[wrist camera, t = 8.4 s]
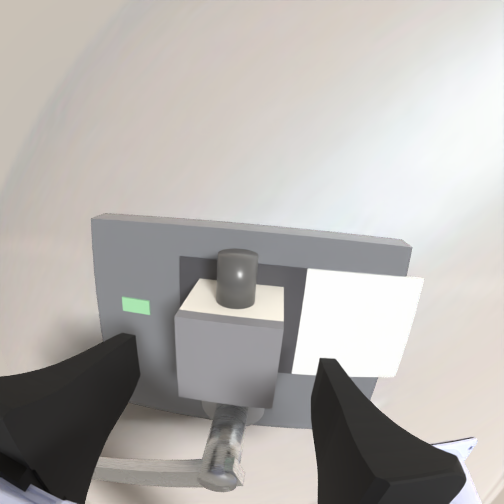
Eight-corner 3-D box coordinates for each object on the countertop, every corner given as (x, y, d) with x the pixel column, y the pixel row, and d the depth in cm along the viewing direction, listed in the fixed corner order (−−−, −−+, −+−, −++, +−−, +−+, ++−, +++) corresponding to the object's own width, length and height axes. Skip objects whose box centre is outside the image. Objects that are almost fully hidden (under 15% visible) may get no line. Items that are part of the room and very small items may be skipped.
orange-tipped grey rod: (243, 392, 16) (229, 469, 11) (254, 417, 17) (244, 491, 12) (68, 407, 19) (32, 454, 14) (82, 426, 19) (50, 474, 14)
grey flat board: (368, 414, 19) (374, 435, 17) (123, 385, 20) (111, 404, 18) (418, 241, 16) (434, 252, 14) (105, 213, 17) (84, 220, 15)
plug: (274, 357, 16) (272, 408, 12) (199, 348, 17) (178, 396, 13) (288, 245, 15) (290, 277, 11) (200, 237, 15) (173, 265, 11)
